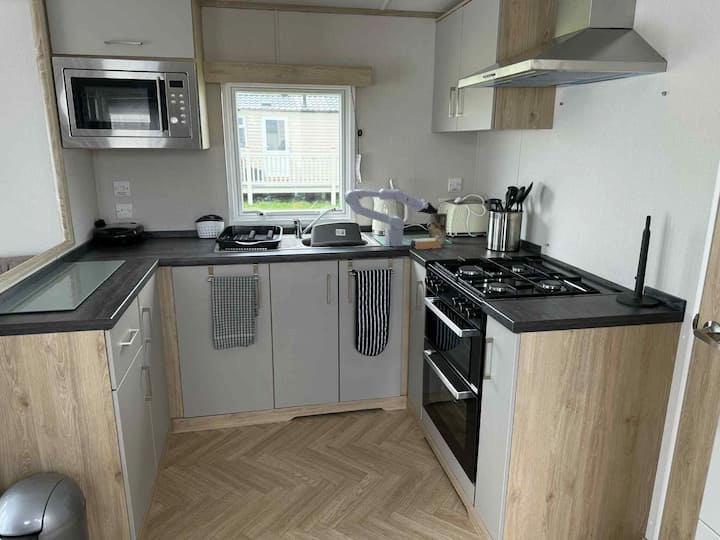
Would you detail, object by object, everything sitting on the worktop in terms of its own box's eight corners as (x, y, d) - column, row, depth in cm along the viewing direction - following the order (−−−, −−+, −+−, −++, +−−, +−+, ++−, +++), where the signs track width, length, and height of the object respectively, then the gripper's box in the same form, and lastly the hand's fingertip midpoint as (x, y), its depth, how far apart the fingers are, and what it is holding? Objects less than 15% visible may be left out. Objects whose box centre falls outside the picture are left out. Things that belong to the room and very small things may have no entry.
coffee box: (446, 241, 292) (448, 213, 288) (444, 243, 286) (446, 214, 282) (430, 240, 295) (431, 212, 291) (428, 242, 289) (429, 213, 285)
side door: (418, 249, 268) (418, 236, 267) (416, 248, 270) (417, 235, 268) (441, 248, 273) (442, 235, 271) (439, 247, 274) (440, 234, 273)
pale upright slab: (414, 249, 269) (415, 241, 268) (409, 246, 276) (409, 239, 275) (440, 247, 274) (440, 240, 273) (434, 245, 281) (434, 238, 280)
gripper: (420, 194, 268) (442, 205, 272) (411, 195, 282) (432, 205, 286) (415, 207, 268) (437, 217, 272) (406, 207, 282) (427, 217, 286)
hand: (434, 212), depth 279 cm, fingers open, 7 cm apart
